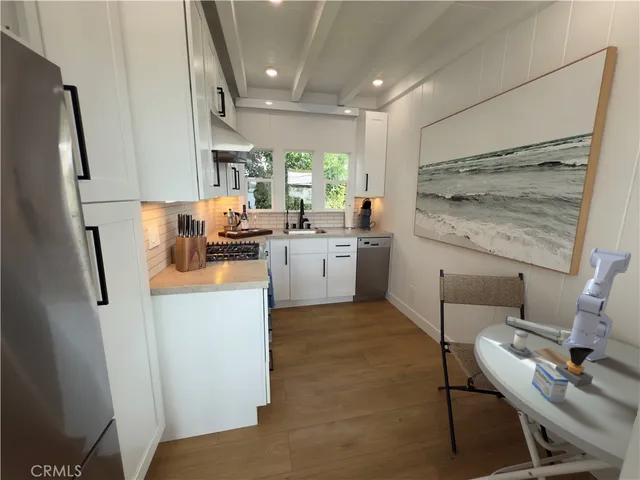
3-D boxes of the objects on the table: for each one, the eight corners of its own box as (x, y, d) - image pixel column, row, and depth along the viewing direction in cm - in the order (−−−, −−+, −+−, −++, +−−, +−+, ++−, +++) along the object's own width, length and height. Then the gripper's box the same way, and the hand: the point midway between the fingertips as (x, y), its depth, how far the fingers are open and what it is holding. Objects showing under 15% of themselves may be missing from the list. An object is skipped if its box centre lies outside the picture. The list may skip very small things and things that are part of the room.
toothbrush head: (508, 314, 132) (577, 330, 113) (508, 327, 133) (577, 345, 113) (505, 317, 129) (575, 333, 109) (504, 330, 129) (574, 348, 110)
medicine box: (530, 384, 92) (535, 362, 90) (544, 384, 92) (548, 362, 90) (549, 402, 84) (554, 379, 82) (563, 403, 84) (569, 379, 82)
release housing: (568, 370, 99) (570, 363, 98) (591, 383, 92) (593, 376, 91) (554, 373, 97) (555, 366, 96) (576, 387, 90) (578, 379, 90)
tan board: (550, 348, 111) (550, 347, 111) (577, 364, 102) (578, 363, 102) (533, 351, 109) (533, 350, 109) (560, 368, 100) (560, 367, 100)
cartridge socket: (516, 342, 116) (517, 339, 115) (539, 356, 106) (540, 353, 106) (497, 345, 113) (498, 342, 113) (520, 360, 104) (520, 357, 103)
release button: (570, 368, 97) (572, 360, 96) (585, 377, 93) (588, 368, 92) (561, 370, 96) (563, 362, 95) (576, 379, 91) (578, 370, 91)
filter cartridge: (517, 346, 112) (520, 329, 110) (527, 352, 108) (530, 334, 106) (509, 347, 111) (512, 330, 109) (519, 354, 107) (522, 336, 105)
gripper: (582, 338, 85) (573, 375, 88) (614, 332, 88) (604, 368, 91) (558, 327, 91) (550, 361, 94) (589, 322, 95) (580, 355, 98)
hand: (575, 363), depth 93 cm, fingers closed
